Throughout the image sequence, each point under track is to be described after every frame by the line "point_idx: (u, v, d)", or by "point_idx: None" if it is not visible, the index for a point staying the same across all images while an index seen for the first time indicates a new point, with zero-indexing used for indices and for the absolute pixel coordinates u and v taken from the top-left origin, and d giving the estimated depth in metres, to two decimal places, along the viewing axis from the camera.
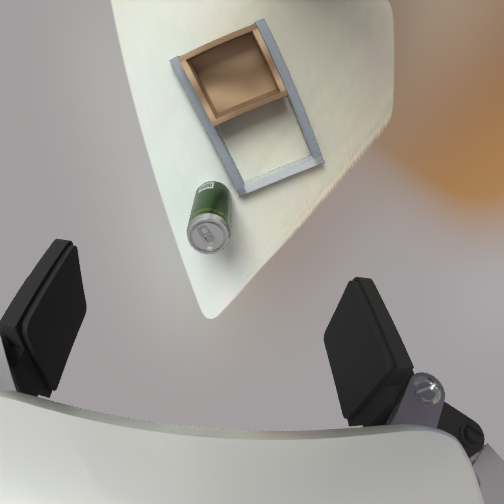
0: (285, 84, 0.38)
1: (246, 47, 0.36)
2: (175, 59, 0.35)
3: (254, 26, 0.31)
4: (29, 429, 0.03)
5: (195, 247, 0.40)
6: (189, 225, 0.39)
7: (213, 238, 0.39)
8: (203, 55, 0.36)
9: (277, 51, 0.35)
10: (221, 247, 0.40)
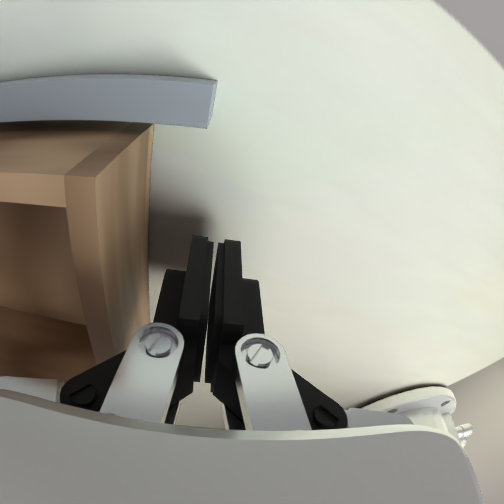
0: None
1: None
2: (197, 112, 0.08)
3: None
4: (29, 429, 0.03)
5: None
6: None
7: None
8: None
9: None
10: None
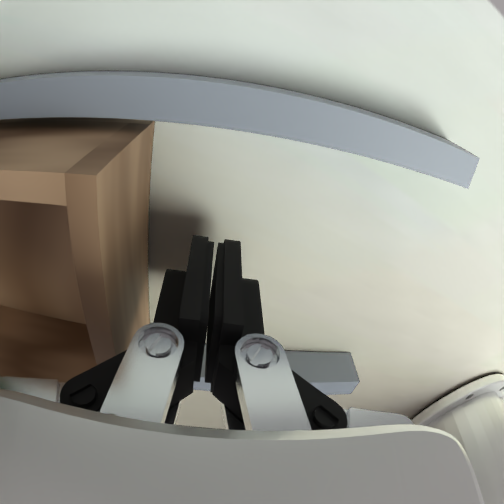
0: None
1: None
2: (466, 175, 0.09)
3: None
4: (29, 429, 0.03)
5: None
6: None
7: None
8: None
9: None
10: None
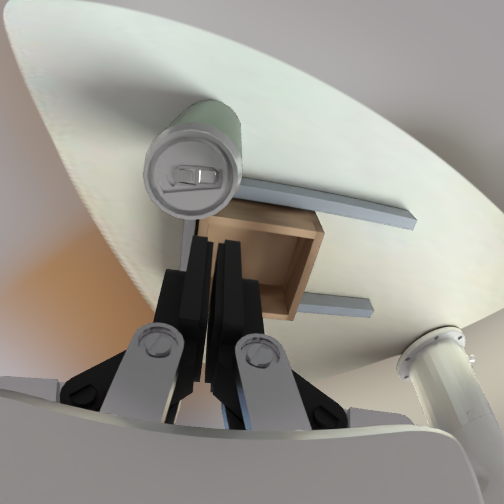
0: None
1: (269, 275, 0.34)
2: (412, 226, 0.30)
3: (290, 318, 0.31)
4: (29, 429, 0.03)
5: (180, 134, 0.15)
6: (234, 150, 0.16)
7: (179, 182, 0.16)
8: None
9: (333, 313, 0.35)
10: (149, 185, 0.16)
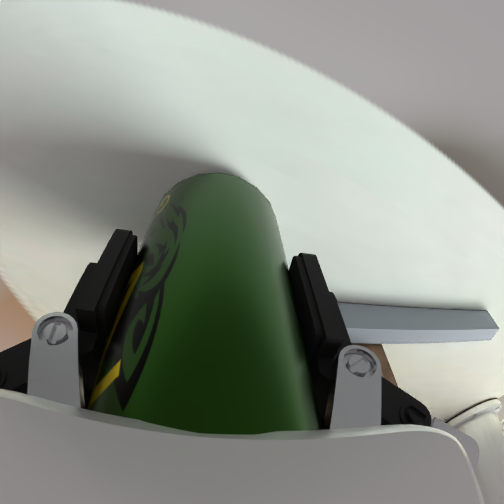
0: None
1: None
2: (491, 336, 0.19)
3: None
4: (29, 429, 0.03)
5: None
6: None
7: None
8: None
9: None
10: None
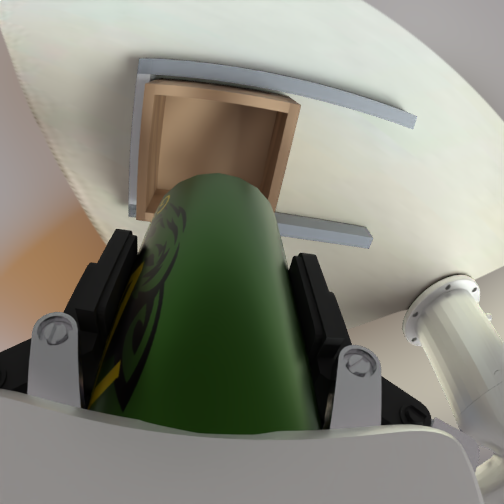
0: None
1: None
2: (411, 123, 0.23)
3: None
4: (29, 429, 0.03)
5: None
6: None
7: None
8: (270, 124, 0.24)
9: (323, 239, 0.29)
10: None
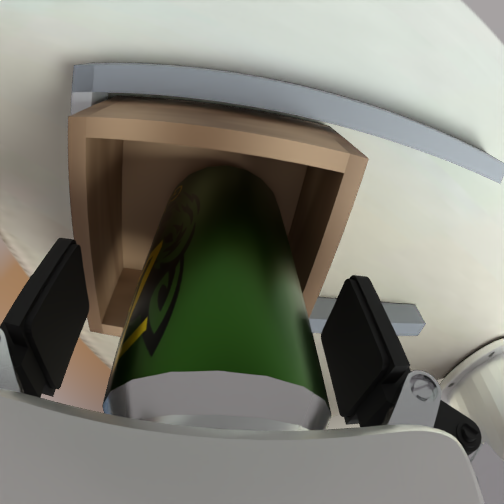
0: None
1: None
2: (500, 175, 0.14)
3: None
4: (29, 429, 0.03)
5: None
6: (322, 416, 0.06)
7: None
8: (299, 174, 0.15)
9: None
10: None
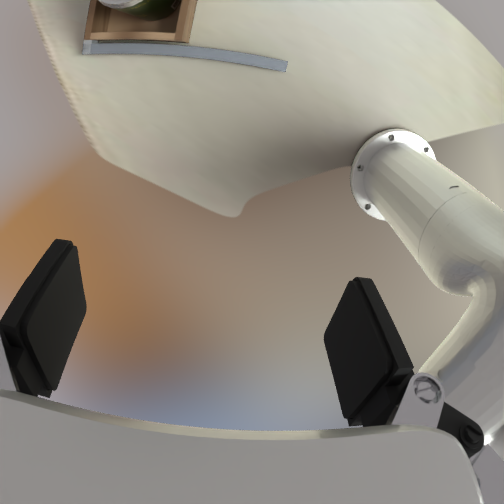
0: (194, 48, 0.27)
1: (168, 24, 0.27)
2: None
3: (178, 37, 0.24)
4: (29, 429, 0.03)
5: None
6: None
7: None
8: None
9: (238, 61, 0.29)
10: None
